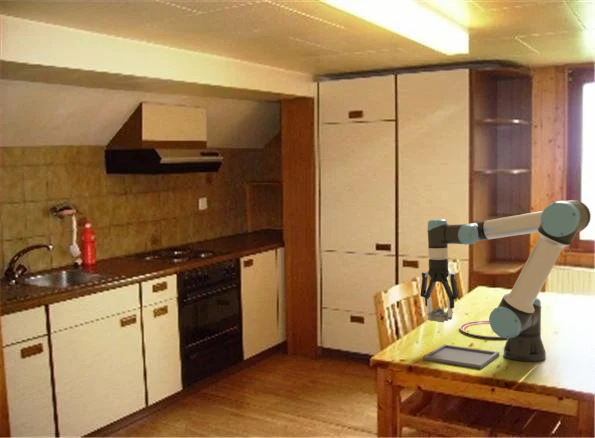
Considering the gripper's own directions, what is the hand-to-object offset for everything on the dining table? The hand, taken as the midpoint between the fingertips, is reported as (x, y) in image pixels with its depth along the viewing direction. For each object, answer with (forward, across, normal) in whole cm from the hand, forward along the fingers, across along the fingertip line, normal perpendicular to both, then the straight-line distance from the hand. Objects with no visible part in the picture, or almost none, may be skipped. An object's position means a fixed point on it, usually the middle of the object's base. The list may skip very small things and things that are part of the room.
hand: (439, 315), depth 247 cm
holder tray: (+15, -10, +4) cm, 18 cm away
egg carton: (+3, +3, 0) cm, 4 cm away
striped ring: (+15, -7, -39) cm, 42 cm away
